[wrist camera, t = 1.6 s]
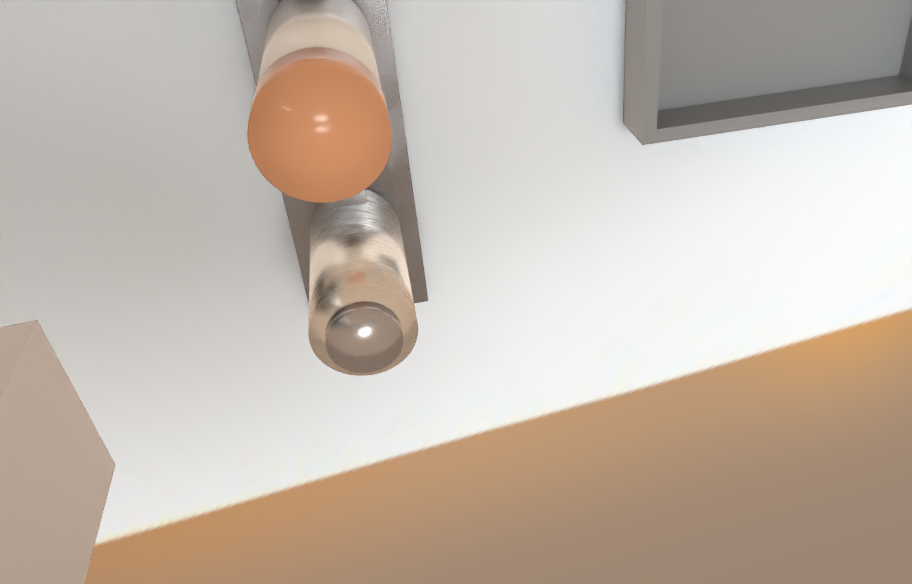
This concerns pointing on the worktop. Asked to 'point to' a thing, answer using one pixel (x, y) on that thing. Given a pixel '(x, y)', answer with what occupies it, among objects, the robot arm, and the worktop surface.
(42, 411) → the robot arm
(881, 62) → the tray
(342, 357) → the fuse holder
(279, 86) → the cylinder
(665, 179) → the worktop surface
